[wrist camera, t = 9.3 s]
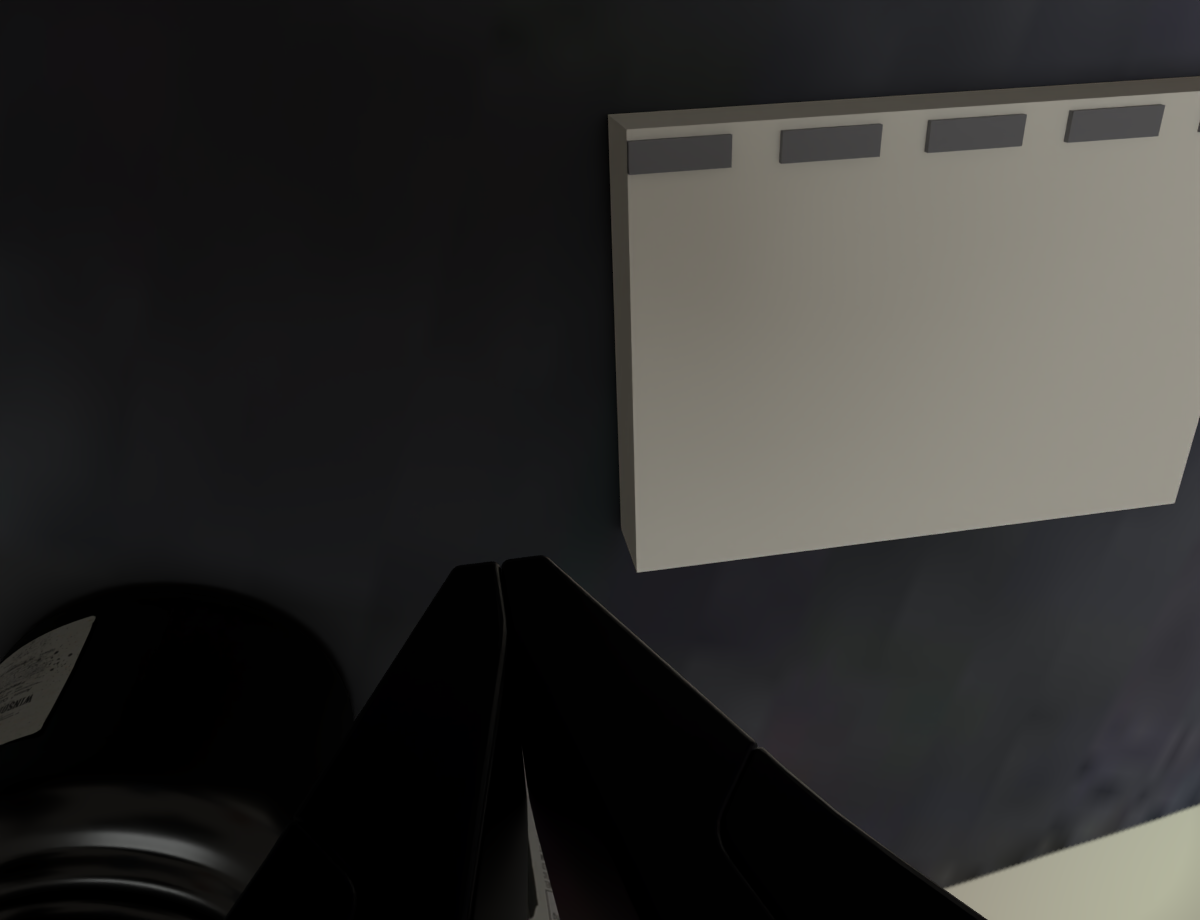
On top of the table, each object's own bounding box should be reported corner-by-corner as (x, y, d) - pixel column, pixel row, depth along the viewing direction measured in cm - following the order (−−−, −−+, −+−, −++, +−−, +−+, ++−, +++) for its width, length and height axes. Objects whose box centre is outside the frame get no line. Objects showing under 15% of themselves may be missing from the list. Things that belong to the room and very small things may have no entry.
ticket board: (621, 528, 24) (637, 575, 22) (607, 114, 19) (628, 130, 18) (1123, 466, 26) (1178, 506, 24) (1222, 74, 21) (1300, 85, 19)
